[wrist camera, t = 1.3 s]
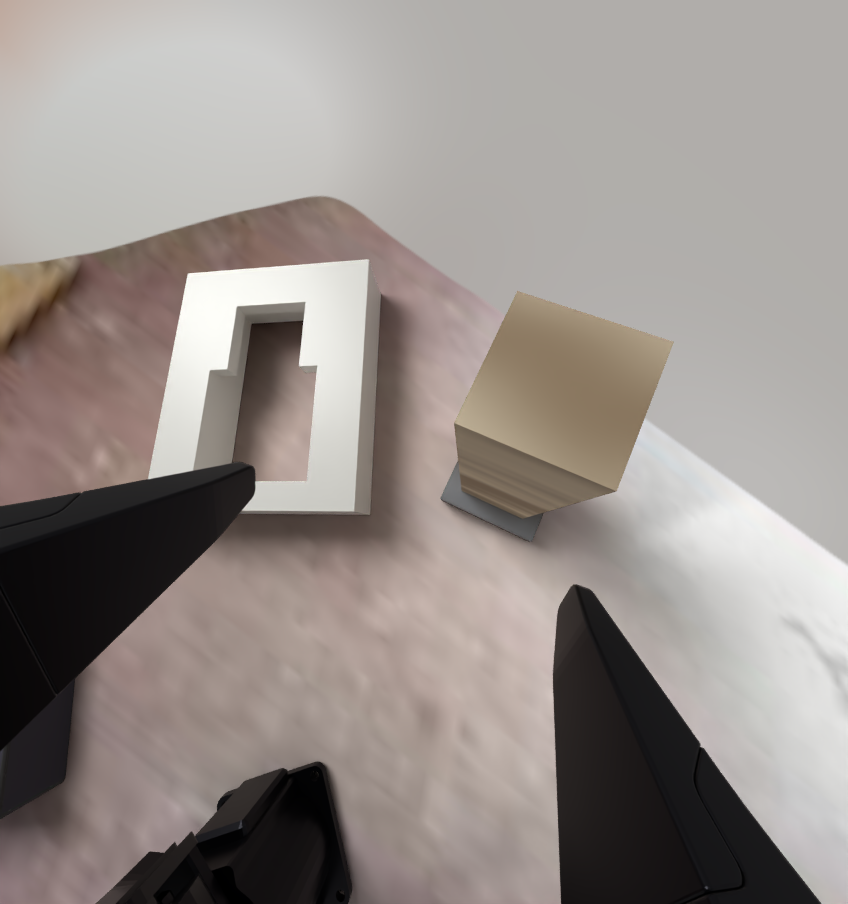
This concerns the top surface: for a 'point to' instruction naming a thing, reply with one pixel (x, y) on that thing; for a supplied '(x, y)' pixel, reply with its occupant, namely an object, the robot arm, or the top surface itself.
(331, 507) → the keyhole plate
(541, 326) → the keyhole post
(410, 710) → the top surface
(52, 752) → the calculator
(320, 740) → the top surface
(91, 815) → the top surface
